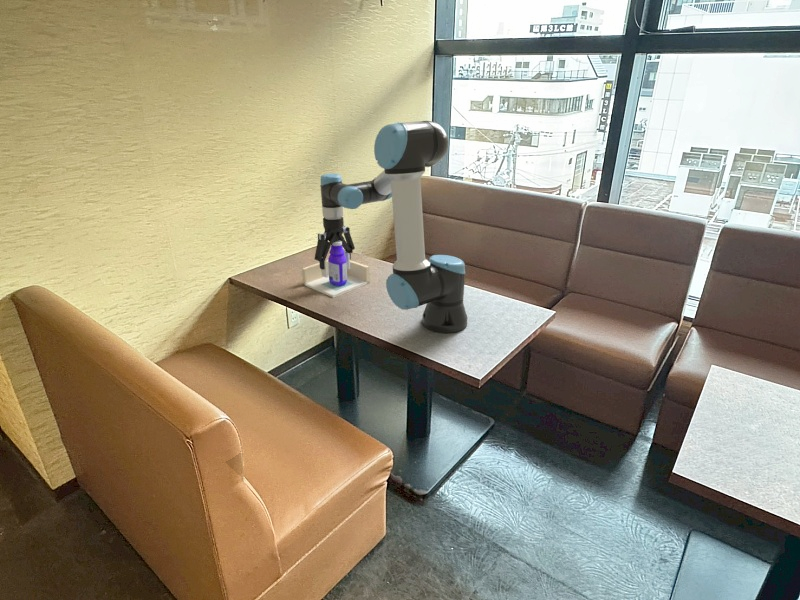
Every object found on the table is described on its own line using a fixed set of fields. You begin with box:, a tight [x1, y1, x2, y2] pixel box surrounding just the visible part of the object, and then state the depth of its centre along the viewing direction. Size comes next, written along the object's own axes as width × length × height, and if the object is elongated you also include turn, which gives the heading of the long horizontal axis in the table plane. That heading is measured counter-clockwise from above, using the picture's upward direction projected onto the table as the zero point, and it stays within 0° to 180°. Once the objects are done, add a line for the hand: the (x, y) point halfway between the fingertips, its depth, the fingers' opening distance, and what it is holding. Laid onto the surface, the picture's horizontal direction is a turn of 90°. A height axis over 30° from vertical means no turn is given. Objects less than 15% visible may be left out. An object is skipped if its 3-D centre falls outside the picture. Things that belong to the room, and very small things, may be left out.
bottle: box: [327, 240, 347, 286], centre depth 194 cm, size 7×6×17 cm
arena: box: [301, 259, 370, 299], centre depth 198 cm, size 18×19×7 cm
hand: (336, 272), depth 195 cm, fingers open, 11 cm apart
